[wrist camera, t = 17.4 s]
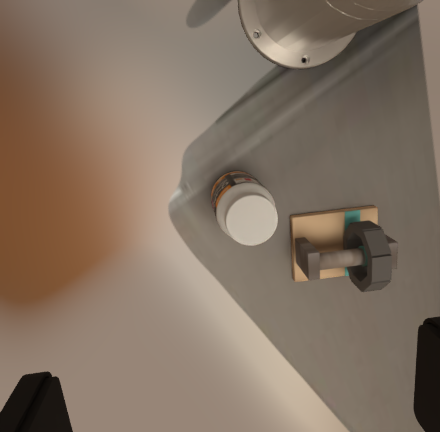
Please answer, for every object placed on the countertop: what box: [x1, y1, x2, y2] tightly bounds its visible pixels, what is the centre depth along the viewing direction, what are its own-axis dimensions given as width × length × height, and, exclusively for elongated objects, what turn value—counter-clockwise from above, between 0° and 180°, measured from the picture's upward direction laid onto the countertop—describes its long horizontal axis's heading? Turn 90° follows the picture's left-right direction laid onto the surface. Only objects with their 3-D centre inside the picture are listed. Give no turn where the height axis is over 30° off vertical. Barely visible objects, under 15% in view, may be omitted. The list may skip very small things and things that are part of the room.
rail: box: [290, 205, 398, 282], centre depth 43 cm, size 8×10×6 cm
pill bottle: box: [211, 171, 278, 246], centre depth 38 cm, size 6×6×10 cm
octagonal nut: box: [343, 220, 392, 292], centre depth 41 cm, size 7×2×7 cm, turn 5°
